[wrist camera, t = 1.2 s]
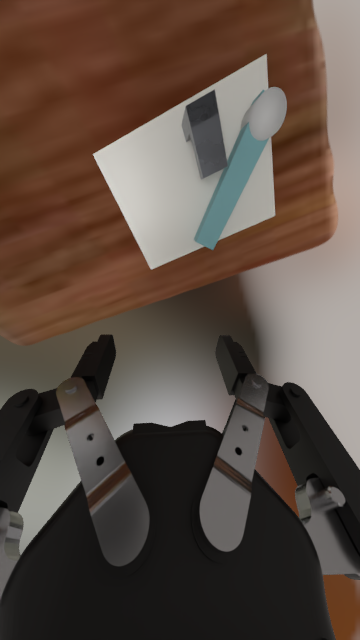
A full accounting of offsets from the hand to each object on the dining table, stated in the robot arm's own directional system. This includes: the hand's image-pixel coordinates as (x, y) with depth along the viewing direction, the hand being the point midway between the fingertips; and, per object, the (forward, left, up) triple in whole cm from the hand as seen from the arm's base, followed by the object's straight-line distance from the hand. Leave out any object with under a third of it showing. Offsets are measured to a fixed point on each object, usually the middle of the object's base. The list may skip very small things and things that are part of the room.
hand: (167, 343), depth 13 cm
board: (-12, 0, -22) cm, 25 cm away
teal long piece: (-14, +4, -20) cm, 25 cm away
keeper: (-16, -1, -21) cm, 26 cm away
